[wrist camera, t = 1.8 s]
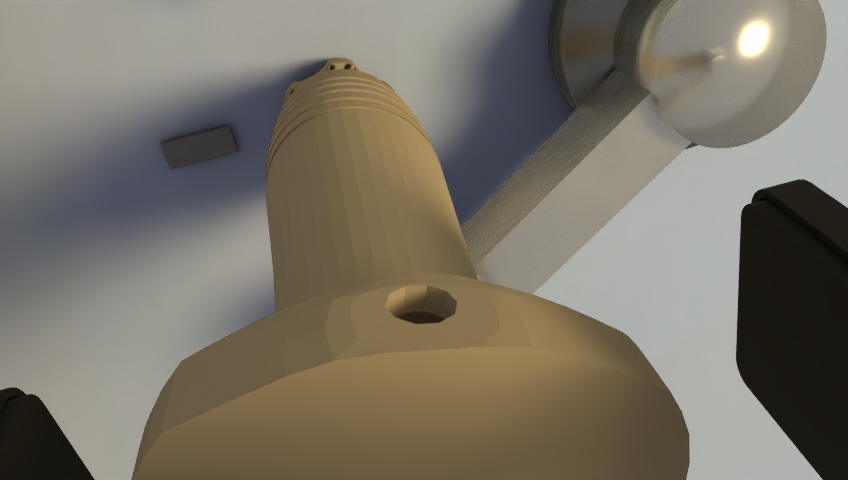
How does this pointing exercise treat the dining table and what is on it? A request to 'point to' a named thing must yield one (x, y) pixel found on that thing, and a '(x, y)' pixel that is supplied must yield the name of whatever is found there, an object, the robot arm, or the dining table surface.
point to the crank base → (569, 53)
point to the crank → (648, 123)
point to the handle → (399, 335)
